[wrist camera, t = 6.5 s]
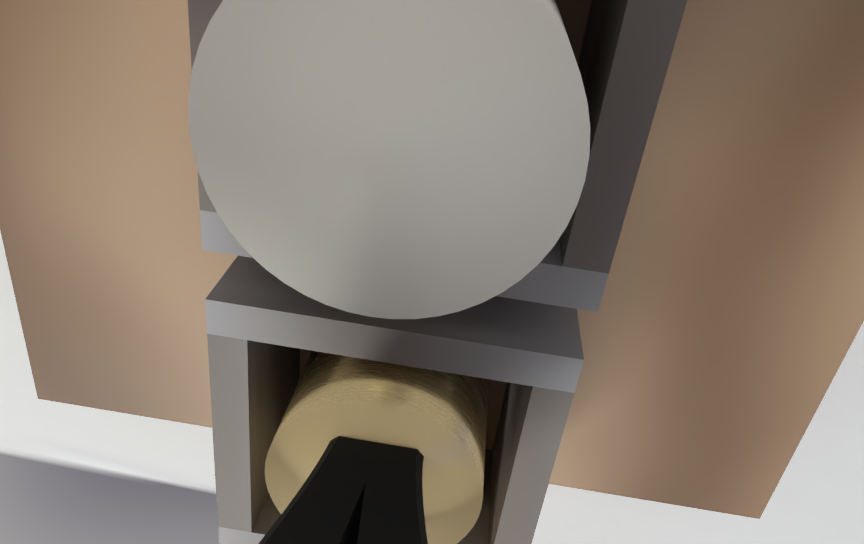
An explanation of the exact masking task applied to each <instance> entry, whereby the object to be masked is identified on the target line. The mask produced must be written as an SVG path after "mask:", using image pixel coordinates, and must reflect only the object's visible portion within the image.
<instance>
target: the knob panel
mask: <svg viewBox="0 0 864 544" xmlns="http://www.w3.org/2000/svg"><path fill="white" fill-rule="evenodd" d="M222 1H223V0H0V230H1V235H2V239H3V244H4V248H5V253H6V257H7V262H8V266H9V271H10V275H11V280H12V284H13V288H14V293H15V297H16V302H17V306H18V311H19V315H20V320H21V324H22V329H23V333H24V338H25V342H26V347H27V351H28V356H29V360H30V364H31V369H32V373H33V378H34V382H35V387H36V391H37V396H38V399H44V400H50V401H56V402H62V403H68V404H74V405H80V406H86V407H92V408H98V409H104V410H110V411H116V412H122V413H128V414H134V415H140V416H146V417H152V418H158V419H164V420H170V421H176V422H182V423H188V424H194V425H200V426H206V427H212V428H213V443H214V461H215V478H216V495H217V511H218V528H219V544H259V542H260V541H261V540H262V538H263V537H264V536H265V535H266V533H267V532H268V531H269V529H270V528H271V527H272V526H273V524H274V523H275V522H276V520H277V519H278V518H279V517H280V515H281V513H280V512H279V511H278V509H277V508H276V506H275V504H274V503H273V501H272V499H271V497H270V494H269V492H268V489H267V485H266V481H265V461H266V457H267V453H268V450H269V448H270V446H271V443H272V441H273V439H274V437H275V434H276V432H277V430H278V428H279V425H280V423H281V421H282V418H283V416H284V414H285V412H286V409H287V407H288V405H289V403H290V400H291V398H292V396H293V393H294V391H295V389H296V387H297V384H298V382H299V380H300V377H301V375H302V373H303V371H304V368H305V366H306V364H307V362H308V359H309V357H310V355H311V352H312V351H317V352H323V353H330V354H336V355H342V356H348V357H354V358H360V359H367V360H373V361H379V362H385V363H391V364H398V365H404V366H410V367H416V368H422V369H428V370H435V371H441V372H447V373H453V374H459V375H466V376H472V377H478V378H484V379H489V395H488V414H487V432H486V450H485V468H484V486H483V501H482V508H481V511H480V514H479V517H478V519H477V521H476V523H475V525H474V527H473V528H472V529H471V530H470V532H469V533H468V534H467V535H466V536H465V537H464V538H463V539H462V540H461V541H460V542H458V543H457V544H531V543H532V539H533V536H534V532H535V529H536V525H537V522H538V518H539V515H540V511H541V508H542V504H543V501H544V497H545V494H546V490H547V487H548V484H554V485H560V486H566V487H572V488H578V489H584V490H590V491H596V492H602V493H608V494H614V495H620V496H626V497H632V498H638V499H644V500H650V501H656V502H662V503H668V504H674V505H680V506H686V507H692V508H698V509H704V510H710V511H716V512H722V513H728V514H734V515H740V516H746V517H752V518H758V519H759V518H760V517H761V515H762V513H763V511H764V509H765V507H766V505H767V503H768V501H769V499H770V498H771V496H772V494H773V492H774V490H775V488H776V486H777V484H778V482H779V480H780V479H781V477H782V475H783V473H784V471H785V469H786V467H787V465H788V463H789V461H790V460H791V458H792V456H793V454H794V452H795V450H796V448H797V446H798V444H799V442H800V441H801V439H802V437H803V435H804V433H805V431H806V429H807V427H808V425H809V423H810V421H811V420H812V418H813V416H814V414H815V412H816V410H817V408H818V406H819V404H820V402H821V401H822V399H823V397H824V395H825V393H826V391H827V389H828V387H829V385H830V383H831V382H832V380H833V378H834V376H835V374H836V372H837V370H838V368H839V366H840V364H841V363H842V361H843V359H844V357H845V355H846V353H847V351H848V349H849V347H850V345H851V344H852V342H853V340H854V338H855V336H856V334H857V332H858V330H859V328H860V326H861V325H862V323H863V321H864V0H555V2H556V4H557V7H558V10H559V12H560V15H561V18H562V21H563V24H564V27H565V30H566V33H567V35H568V38H569V41H570V44H571V47H572V50H573V53H574V56H575V59H576V62H577V65H578V68H579V71H580V74H581V77H582V81H583V85H584V90H585V94H586V98H587V102H588V111H589V120H590V155H589V161H588V167H587V173H586V178H585V183H584V186H583V189H582V192H581V195H580V198H579V201H578V204H577V207H576V209H575V211H574V213H573V215H572V217H571V219H570V221H569V223H568V225H567V227H566V229H565V230H564V232H563V233H562V235H561V236H560V238H559V239H558V241H557V242H556V244H555V245H554V247H553V248H552V249H551V250H550V252H549V253H548V254H547V255H546V256H545V257H544V258H543V260H542V261H541V262H540V263H539V264H538V265H537V266H536V267H535V268H534V269H533V270H531V271H530V272H529V273H528V274H527V275H526V276H525V277H524V278H522V279H521V280H520V281H519V282H517V283H516V284H514V285H513V286H511V287H510V288H508V289H507V290H505V291H504V292H502V293H501V294H499V295H497V296H495V297H493V298H491V299H489V300H487V301H485V302H483V303H481V304H478V305H476V306H473V307H470V308H467V309H465V310H462V311H459V312H454V313H450V314H446V315H442V316H437V317H429V318H421V319H386V318H376V317H368V316H364V315H359V314H355V313H350V312H346V311H343V310H340V309H337V308H334V307H331V306H328V305H325V304H323V303H321V302H319V301H316V300H314V299H312V298H310V297H308V296H305V295H303V294H302V293H300V292H298V291H297V290H295V289H293V288H292V287H290V286H288V285H287V284H285V283H283V282H282V281H281V280H279V279H278V278H277V277H275V276H274V275H273V274H271V273H270V272H269V271H267V270H266V269H265V268H264V267H263V266H261V265H260V264H259V263H258V262H257V261H256V260H255V259H254V258H253V257H252V256H251V255H250V254H248V253H247V251H246V250H245V249H244V248H243V247H242V246H241V244H240V243H239V242H238V241H237V240H236V239H235V238H234V236H233V235H232V234H231V232H230V231H229V230H228V228H227V227H226V225H225V224H224V222H223V221H222V219H221V218H220V217H219V215H218V213H217V211H216V210H215V208H214V206H213V204H212V202H211V200H210V198H209V196H208V195H207V193H206V190H205V187H204V185H203V182H202V180H201V177H200V175H199V172H198V169H197V165H196V162H195V158H194V154H193V150H192V146H191V138H190V131H189V123H188V94H189V87H190V80H191V73H192V68H193V64H194V61H195V57H196V54H197V50H198V47H199V44H200V42H201V39H202V37H203V35H204V33H205V31H206V28H207V26H208V24H209V22H210V20H211V18H212V17H213V15H214V14H215V12H216V11H217V9H218V7H219V6H220V4H221V3H222Z"/></svg>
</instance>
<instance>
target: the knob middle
mask: <svg viewBox="0 0 864 544" xmlns="http://www.w3.org/2000/svg"><path fill="white" fill-rule="evenodd" d="M188 123H189V131H190V138H191V146H192V150H193V154H194V158H195V162H196V165H197V169H198V172H199V175H200V177H201V180H202V182H203V185H204V187H205V190H206V193H207V195H208V196H209V198H210V200H211V202H212V204H213V206H214V208H215V210H216V211H217V213H218V215H219V217H220V218H221V219H222V221H223V222H224V224H225V225H226V227H227V228H228V230H229V231H230V232H231V234H232V235H233V236H234V238H235V239H236V240H237V241H238V242H239V243H240V244H241V246H242V247H243V248H244V249H245V250H246V251H247V253H248V254H250V255H251V256H252V257H253V258H254V259H255V260H256V261H257V262H258V263H259V264H260V265H261V266H263V267H264V268H265V269H266V270H267V271H269V272H270V273H271V274H273V275H274V276H275V277H277V278H278V279H279V280H281V281H282V282H283V283H285V284H287V285H288V286H290V287H292V288H293V289H295V290H297V291H298V292H300V293H302V294H303V295H305V296H308V297H310V298H312V299H314V300H316V301H319V302H321V303H323V304H325V305H328V306H331V307H334V308H337V309H340V310H343V311H346V312H350V313H355V314H359V315H364V316H368V317H376V318H386V319H421V318H429V317H437V316H442V315H446V314H450V313H454V312H459V311H462V310H465V309H467V308H470V307H473V306H476V305H478V304H481V303H483V302H485V301H487V300H489V299H491V298H493V297H495V296H497V295H499V294H501V293H502V292H504V291H505V290H507V289H508V288H510V287H511V286H513V285H514V284H516V283H517V282H519V281H520V280H521V279H522V278H524V277H525V276H526V275H527V274H528V273H529V272H530V271H531V270H533V269H534V268H535V267H536V266H537V265H538V264H539V263H540V262H541V261H542V260H543V258H544V257H545V256H546V255H547V254H548V253H549V252H550V250H551V249H552V248H553V247H554V245H555V244H556V242H557V241H558V239H559V238H560V236H561V235H562V233H563V232H564V230H565V229H566V227H567V225H568V223H569V221H570V219H571V217H572V215H573V213H574V211H575V209H576V207H577V204H578V201H579V198H580V195H581V192H582V189H583V186H584V183H585V178H586V173H587V167H588V161H589V155H590V120H589V111H588V102H587V98H586V94H585V90H584V85H583V81H582V77H581V74H580V71H579V68H578V65H577V62H576V59H575V56H574V53H573V50H572V47H571V44H570V41H569V38H568V35H567V33H566V30H565V27H564V24H563V21H562V18H561V15H560V12H559V10H558V7H557V4H556V2H555V0H223V1H222V3H221V4H220V6H219V7H218V9H217V11H216V12H215V14H214V15H213V17H212V18H211V20H210V22H209V24H208V26H207V28H206V31H205V33H204V35H203V37H202V39H201V42H200V44H199V47H198V50H197V54H196V57H195V61H194V64H193V68H192V73H191V80H190V87H189V94H188Z"/></svg>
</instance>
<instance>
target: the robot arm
mask: <svg viewBox="0 0 864 544" xmlns="http://www.w3.org/2000/svg"><path fill="white" fill-rule="evenodd" d="M423 460H424V456H423V455H422V454H421V452H420V451H419V450H418V449H413V448H407V447H401V446H395V445H389V444H383V443H377V442H371V441H365V440H359V439H353V438H347V437H341V436H338V437H336V438H334V439H332V440H331V441H330V442H329V444H328V446H327V448H326V450H325V451H324V453H323V455H322V456H321V458H320V460H319V461H318V463H317V464H316V466H315V468H314V469H313V471H312V472H311V474H310V475H309V477H308V478H307V480H306V481H305V482H304V484H303V485H302V487H301V488H300V490H299V491H298V492H297V494H296V495H295V497H294V498H293V499H292V501H291V502H290V504H289V505H288V506H287V508H286V509H285V510H284V511H283V513H282V514H281V515H280V517H279V518H278V519H277V520H276V522H275V523H274V524H273V526H272V527H271V528H270V529H269V531H268V532H267V533H266V535H265V536H264V537H263V538H262V540H261V541H260V542H259V544H428V541H427V534H426V526H425V516H424V506H423V488H422V474H423Z"/></svg>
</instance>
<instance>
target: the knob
mask: <svg viewBox="0 0 864 544" xmlns="http://www.w3.org/2000/svg"><path fill="white" fill-rule="evenodd" d="M488 395H489V379H484V378H478V377H472V376H466V375H459V374H453V373H447V372H441V371H435V370H428V369H422V368H416V367H410V366H404V365H398V364H391V363H385V362H379V361H373V360H367V359H360V358H354V357H348V356H342V355H336V354H330V353H323V352H317V351H312V352H311V355H310V357H309V359H308V362H307V364H306V366H305V368H304V371H303V373H302V375H301V377H300V380H299V382H298V384H297V387H296V389H295V391H294V393H293V396H292V398H291V400H290V403H289V405H288V407H287V409H286V412H285V414H284V416H283V418H282V421H281V423H280V425H279V428H278V430H277V432H276V434H275V437H274V439H273V441H272V443H271V446H270V448H269V450H268V453H267V457H266V461H265V481H266V485H267V489H268V492H269V494H270V497H271V499H272V501H273V503H274V504H275V506H276V508H277V509H278V511H279V512H280V513H281V514H282V513H283V511H284V510H285V509H286V508H287V506H288V505H289V504H290V502H291V501H292V499H293V498H294V497H295V495H296V494H297V492H298V491H299V490H300V488H301V487H302V485H303V484H304V482H305V481H306V480H307V478H308V477H309V475H310V474H311V472H312V471H313V469H314V468H315V466H316V464H317V463H318V461H319V460H320V458H321V456H322V455H323V453H324V451H325V450H326V448H327V446H328V444H329V442H330V441H331V440H332V439H334V438H336V437H338V436H341V437H347V438H353V439H359V440H365V441H371V442H377V443H383V444H389V445H395V446H401V447H407V448H413V449H418V450H419V451H420V452H421V454H422V455H423V456H424V460H423V474H422V488H423V506H424V516H425V526H426V534H427V541H428V544H457V543H458V542H460V541H461V540H462V539H463V538H464V537H465V536H466V535H467V534H468V533H469V532H470V530H471V529H472V528H473V527H474V525H475V523H476V521H477V519H478V517H479V514H480V511H481V508H482V501H483V486H484V468H485V450H486V432H487V414H488Z"/></svg>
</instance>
